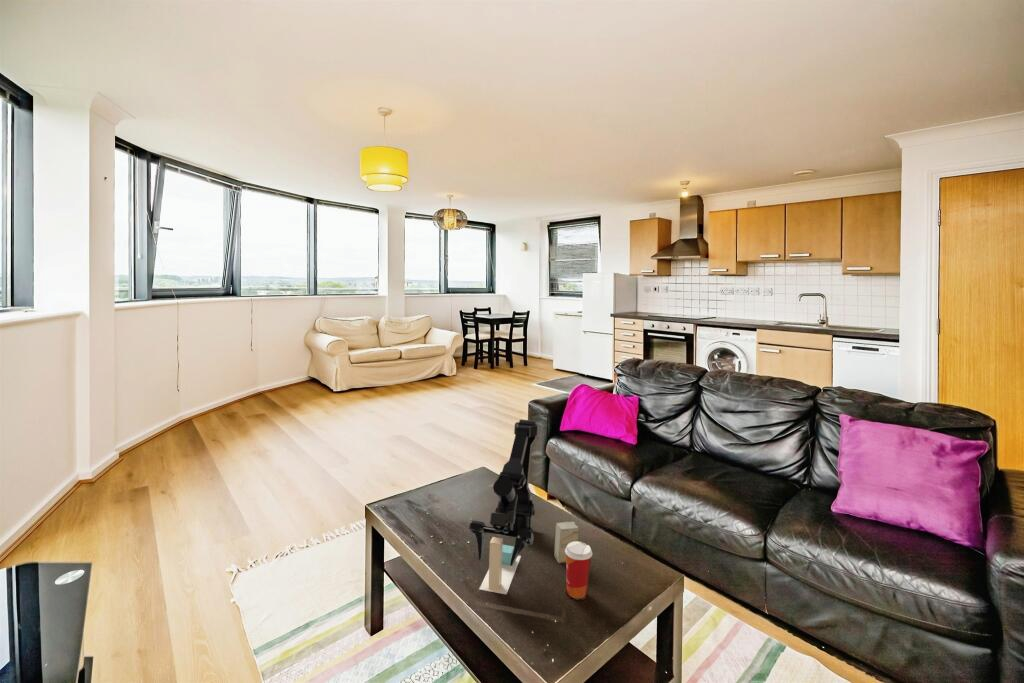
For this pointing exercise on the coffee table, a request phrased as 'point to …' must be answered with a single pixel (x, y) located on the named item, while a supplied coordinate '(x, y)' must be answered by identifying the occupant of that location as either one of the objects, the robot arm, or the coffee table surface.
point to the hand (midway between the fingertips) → (495, 563)
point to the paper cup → (577, 568)
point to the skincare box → (564, 538)
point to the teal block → (507, 554)
